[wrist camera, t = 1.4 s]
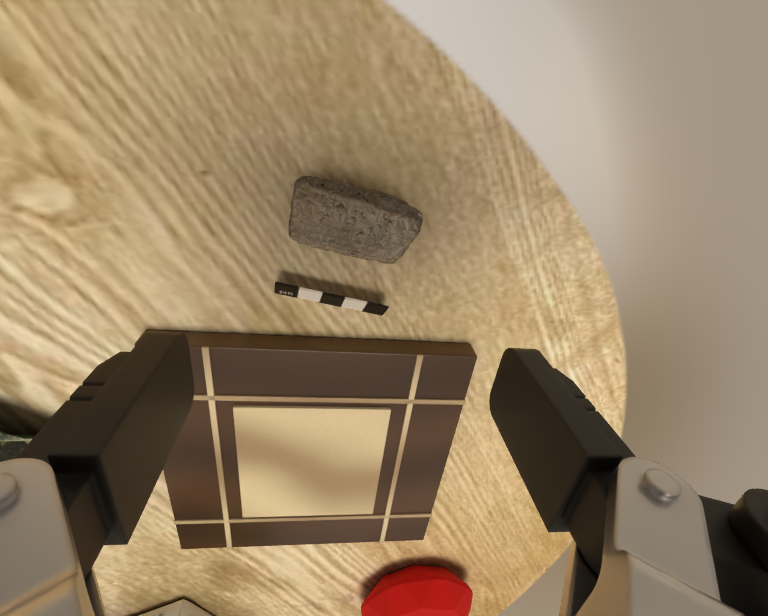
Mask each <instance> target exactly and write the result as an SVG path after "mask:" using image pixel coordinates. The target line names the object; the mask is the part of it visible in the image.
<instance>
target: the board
mask: <svg viewBox="0 0 768 616" xmlns="http://www.w3.org/2000/svg"><path fill="white" fill-rule="evenodd" d="M149 331H155V332H178V333H185V334H186V336H187V338H188V342H189V350H190V357H191V364H192V372H193V379H194V398H193V403H192V407H191V410H190V412H189V414H188V416H187V419H186V421H185V423H184V425H183V427H182V429H181V431H180V433H179V436H178V438H177V440H176V442H175V444H174V446H173V448H172V450H171V453H170V455H169V457H168V459H167V461H166V463H165V465H164V467H163V470H164V475H165V479H166V484H167V488H168V492H169V497H170V501H171V505H172V510H173V514H174V518H175V520H174V524H176V527H177V532H178V536H179V540H180V545H181V549H197V548H223V547H227V549H232V547H249V546H275V545H301V544H327V543H353V542H379V543H384V541H405V540H423V539H424V535H425V532H426V529H427V525H428V522H429V518H430V517H431V515H432V513H431V512H432V508H433V505H434V501H435V498H436V495H437V491H438V488H439V485H440V481H441V478H442V474H443V471H444V468H445V464H446V461H447V457H448V454H449V451H450V447H451V444H452V440H453V437H454V434H455V430H456V427H457V424H458V420H459V417H460V413H461V410H462V407H463V405H464V404H465V401H466V400H465V396H466V393H467V390H468V386H469V383H470V379H471V376H472V373H473V369H474V366H475V362H476V359H477V356H476V354H475V352H474V350H473V348H472V346H471V344H466V343H442V342H419V341H395V340H372V339H348V338H325V337H301V336H278V335H254V334H231V333H207V332H184V331H160V330H145V331H144V333H143V334H142V335H141V337H140V338H139V339H138V340H137V342H136V343H135V346H136V345H137V343H138V342H139V341H140V340H141V338H142V337H143V336H144V335H145V334H146V333H147V332H149Z"/></svg>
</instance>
